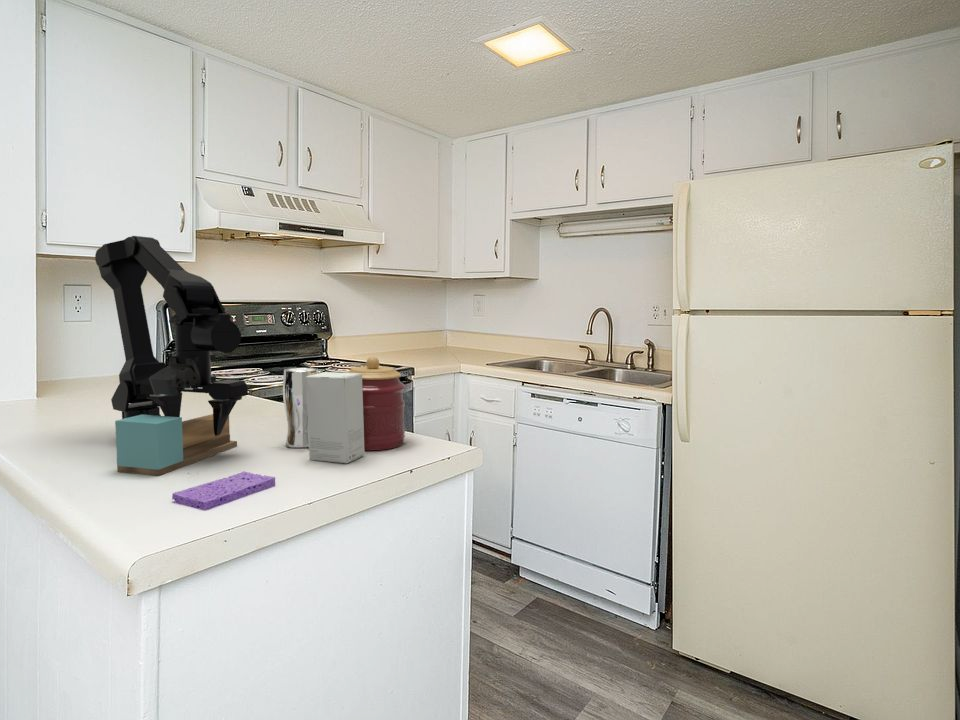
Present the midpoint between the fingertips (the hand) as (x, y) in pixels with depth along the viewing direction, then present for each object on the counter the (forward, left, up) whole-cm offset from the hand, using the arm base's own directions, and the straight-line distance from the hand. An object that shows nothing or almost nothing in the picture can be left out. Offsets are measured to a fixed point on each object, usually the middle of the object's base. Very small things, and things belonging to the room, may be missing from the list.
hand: (195, 433), depth 107 cm
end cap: (0, -11, -3) cm, 11 cm away
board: (0, -4, -4) cm, 5 cm away
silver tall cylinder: (+15, +11, -4) cm, 19 cm away
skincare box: (+26, +4, -4) cm, 27 cm away
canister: (+28, +16, -4) cm, 33 cm away
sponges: (+19, -18, -4) cm, 27 cm away
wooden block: (0, 0, -3) cm, 3 cm away
